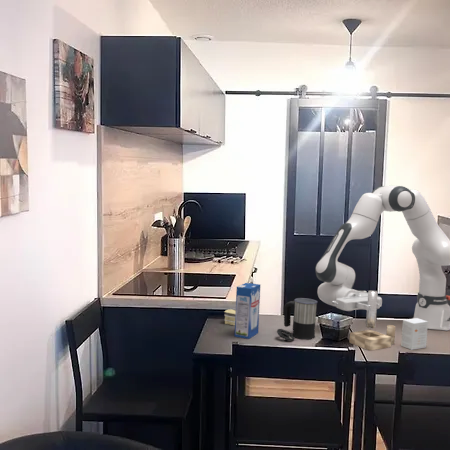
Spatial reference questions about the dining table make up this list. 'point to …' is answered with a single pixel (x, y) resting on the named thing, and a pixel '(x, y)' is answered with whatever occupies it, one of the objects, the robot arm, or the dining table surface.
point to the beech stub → (391, 333)
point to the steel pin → (371, 309)
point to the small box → (414, 333)
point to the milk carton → (247, 310)
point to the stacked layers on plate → (230, 317)
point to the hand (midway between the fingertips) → (373, 307)
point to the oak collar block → (370, 340)
